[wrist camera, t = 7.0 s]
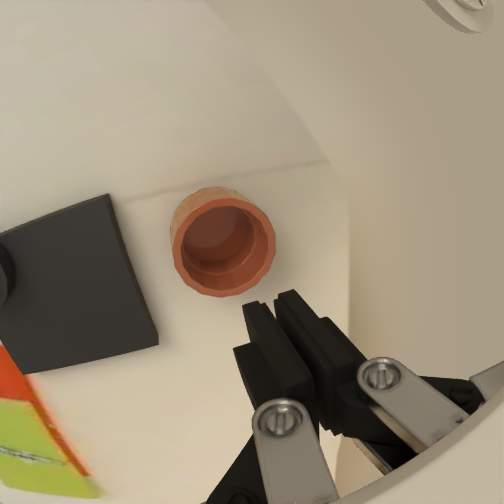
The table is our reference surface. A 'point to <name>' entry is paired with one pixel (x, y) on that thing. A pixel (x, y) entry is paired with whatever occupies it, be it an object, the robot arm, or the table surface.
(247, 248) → the small bowl
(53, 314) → the scale
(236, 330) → the table surface
